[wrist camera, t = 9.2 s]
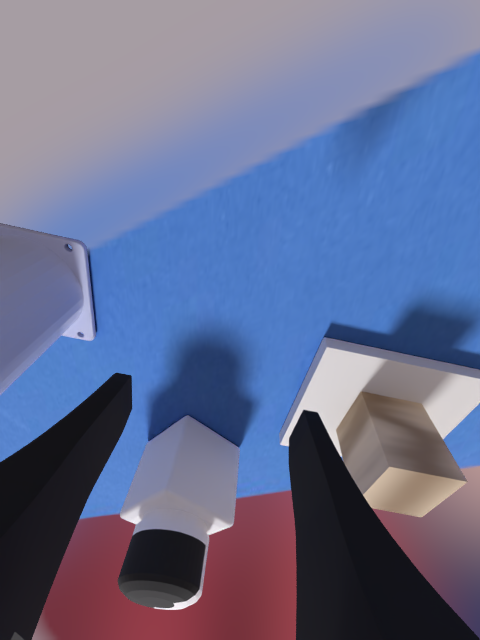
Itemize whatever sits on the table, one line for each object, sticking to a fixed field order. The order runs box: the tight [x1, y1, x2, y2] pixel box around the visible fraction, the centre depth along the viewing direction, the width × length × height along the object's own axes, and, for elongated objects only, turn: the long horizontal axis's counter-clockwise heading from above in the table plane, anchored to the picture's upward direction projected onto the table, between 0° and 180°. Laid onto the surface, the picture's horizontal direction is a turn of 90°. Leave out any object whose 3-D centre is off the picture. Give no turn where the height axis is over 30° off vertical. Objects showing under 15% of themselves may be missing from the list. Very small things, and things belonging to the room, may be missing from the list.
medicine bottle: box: [118, 415, 240, 610], centre depth 25 cm, size 7×7×12 cm
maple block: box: [336, 391, 467, 517], centre depth 21 cm, size 5×5×6 cm
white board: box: [279, 337, 480, 456], centre depth 24 cm, size 13×12×1 cm
